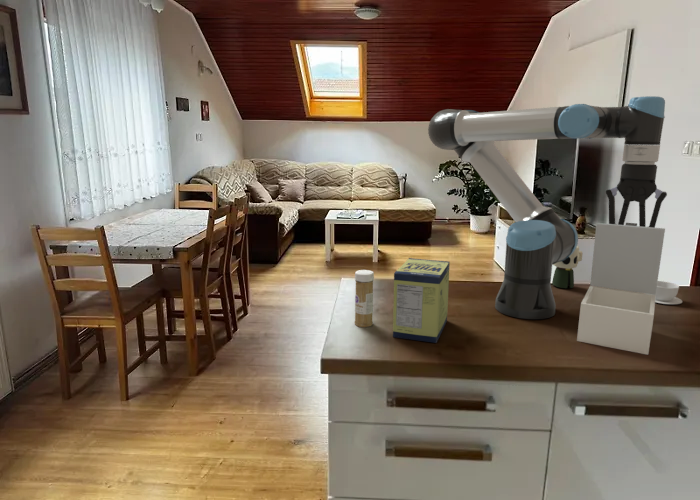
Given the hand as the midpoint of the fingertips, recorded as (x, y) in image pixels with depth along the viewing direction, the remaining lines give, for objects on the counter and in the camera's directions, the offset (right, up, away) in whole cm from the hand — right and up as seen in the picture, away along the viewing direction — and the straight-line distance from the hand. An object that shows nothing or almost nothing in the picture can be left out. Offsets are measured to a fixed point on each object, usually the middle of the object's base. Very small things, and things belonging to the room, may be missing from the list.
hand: (627, 257), depth 126 cm
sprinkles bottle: (-67, -17, -3) cm, 69 cm away
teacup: (+19, -13, +17) cm, 28 cm away
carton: (-8, -18, -10) cm, 22 cm away
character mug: (-4, -10, +28) cm, 30 cm away
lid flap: (-5, 0, -8) cm, 9 cm away
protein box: (-53, -17, -6) cm, 56 cm away
